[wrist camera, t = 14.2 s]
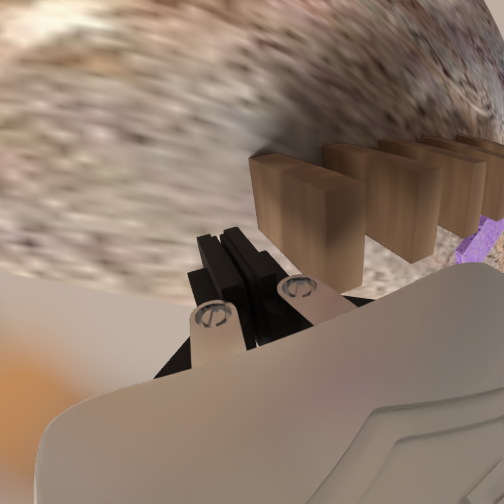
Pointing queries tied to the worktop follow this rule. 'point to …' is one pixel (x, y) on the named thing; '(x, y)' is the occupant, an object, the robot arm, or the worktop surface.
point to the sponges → (479, 241)
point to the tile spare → (481, 143)
